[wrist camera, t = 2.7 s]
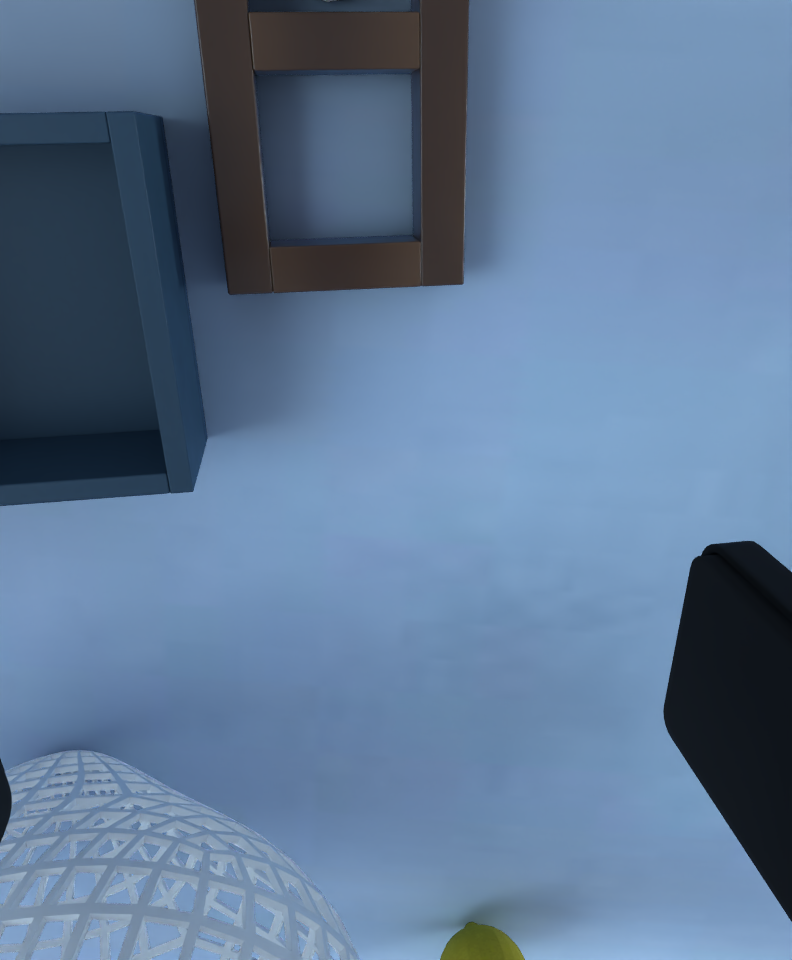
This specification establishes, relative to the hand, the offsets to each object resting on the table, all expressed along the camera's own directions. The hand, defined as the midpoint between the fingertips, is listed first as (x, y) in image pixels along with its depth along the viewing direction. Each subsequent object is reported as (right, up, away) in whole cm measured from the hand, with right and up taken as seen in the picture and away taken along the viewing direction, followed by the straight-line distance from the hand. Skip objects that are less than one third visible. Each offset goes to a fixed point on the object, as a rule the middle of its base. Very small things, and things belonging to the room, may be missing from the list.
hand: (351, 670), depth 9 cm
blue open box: (-13, +9, +17) cm, 24 cm away
